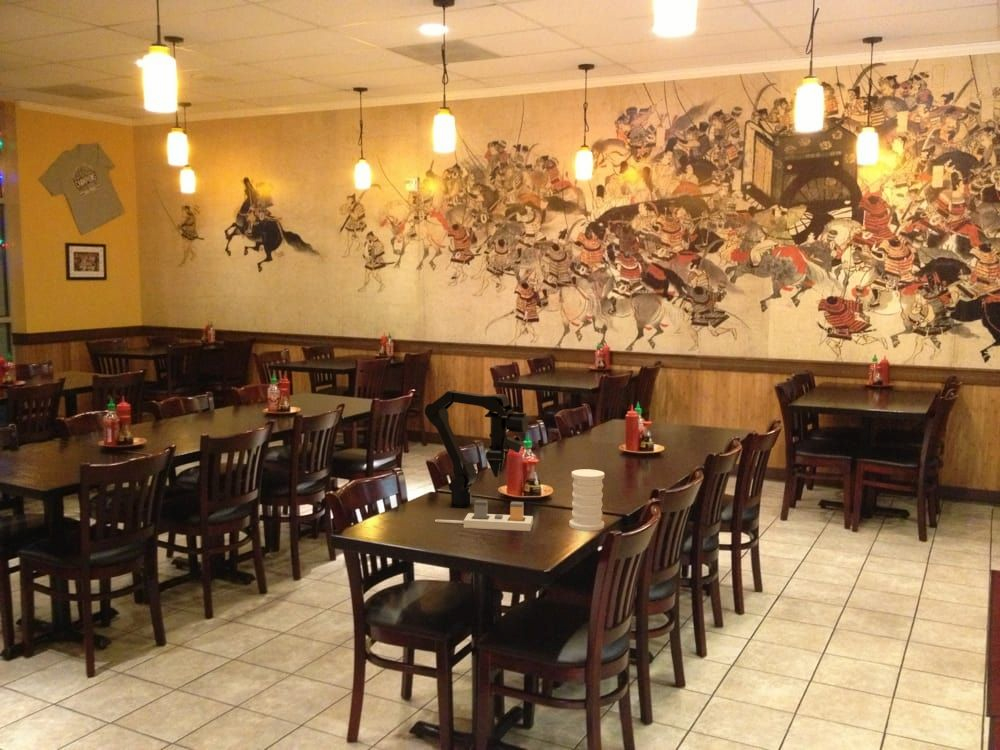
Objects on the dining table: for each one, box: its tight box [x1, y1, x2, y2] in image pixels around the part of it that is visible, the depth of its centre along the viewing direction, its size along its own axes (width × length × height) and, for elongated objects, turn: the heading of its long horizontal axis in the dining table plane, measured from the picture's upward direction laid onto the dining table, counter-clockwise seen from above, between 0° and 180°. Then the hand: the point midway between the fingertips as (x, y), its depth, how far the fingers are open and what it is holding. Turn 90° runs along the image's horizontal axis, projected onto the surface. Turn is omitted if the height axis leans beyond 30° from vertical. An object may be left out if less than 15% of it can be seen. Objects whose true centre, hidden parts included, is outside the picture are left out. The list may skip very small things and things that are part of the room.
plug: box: [509, 501, 524, 521], centre depth 292 cm, size 4×3×8 cm
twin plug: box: [473, 499, 489, 520], centre depth 293 cm, size 4×3×8 cm
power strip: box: [434, 512, 534, 532], centre depth 293 cm, size 32×9×3 cm, turn 82°
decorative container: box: [568, 468, 605, 532], centre depth 293 cm, size 12×12×18 cm
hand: (498, 474), depth 310 cm, fingers open, 9 cm apart
